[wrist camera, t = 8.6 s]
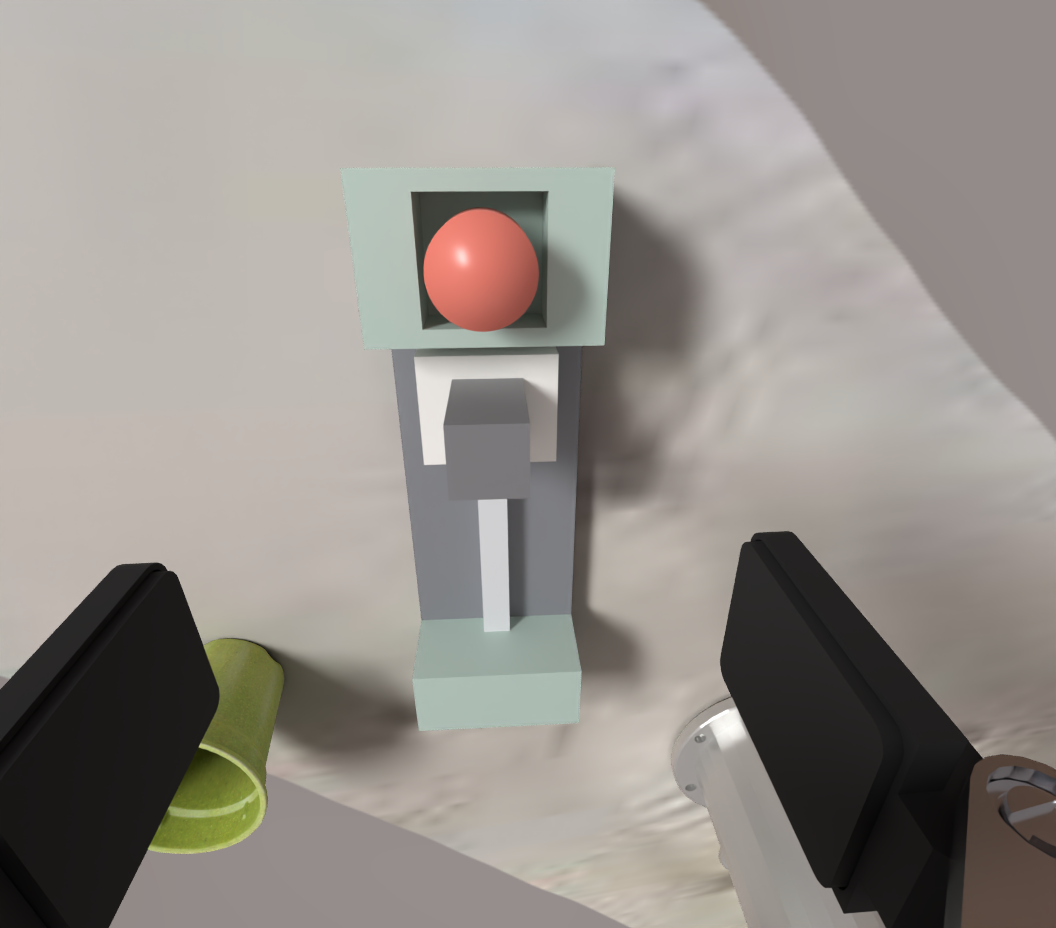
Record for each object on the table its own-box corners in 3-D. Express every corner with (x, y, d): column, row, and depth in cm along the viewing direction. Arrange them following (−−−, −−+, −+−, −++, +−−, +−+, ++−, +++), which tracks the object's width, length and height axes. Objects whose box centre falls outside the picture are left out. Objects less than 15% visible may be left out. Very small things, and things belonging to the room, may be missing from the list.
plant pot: (157, 604, 35) (61, 728, 27) (317, 627, 36) (270, 751, 28) (161, 711, 39) (78, 846, 31) (305, 728, 40) (261, 861, 32)
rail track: (566, 645, 38) (581, 738, 32) (429, 651, 37) (417, 746, 31) (584, 169, 25) (614, 167, 19) (378, 169, 25) (340, 167, 19)
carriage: (552, 443, 28) (569, 519, 22) (428, 446, 28) (410, 525, 21) (553, 341, 26) (574, 395, 20) (419, 344, 25) (396, 398, 19)
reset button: (532, 311, 22) (538, 330, 19) (436, 313, 21) (428, 332, 19) (532, 206, 20) (539, 211, 17) (428, 207, 20) (418, 212, 17)
